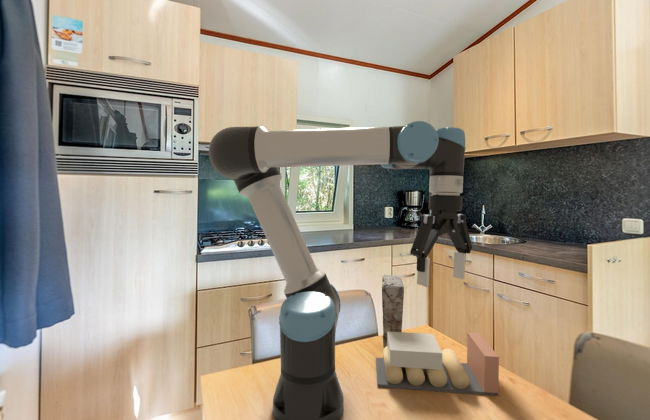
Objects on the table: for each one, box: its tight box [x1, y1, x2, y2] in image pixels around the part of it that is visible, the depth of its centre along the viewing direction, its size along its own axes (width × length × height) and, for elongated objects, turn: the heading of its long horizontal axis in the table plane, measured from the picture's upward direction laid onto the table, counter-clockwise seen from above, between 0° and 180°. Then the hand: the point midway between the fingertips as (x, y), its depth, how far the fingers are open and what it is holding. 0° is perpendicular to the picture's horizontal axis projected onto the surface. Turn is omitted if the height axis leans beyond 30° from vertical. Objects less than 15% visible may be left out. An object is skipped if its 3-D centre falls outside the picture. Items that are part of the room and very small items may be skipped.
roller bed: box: [375, 346, 499, 396], centre depth 77 cm, size 27×12×5 cm, turn 82°
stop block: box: [466, 332, 500, 396], centre depth 75 cm, size 3×12×9 cm, turn 172°
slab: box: [387, 331, 442, 370], centre depth 77 cm, size 12×10×4 cm
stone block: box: [381, 274, 405, 349], centre depth 93 cm, size 13×7×20 cm, turn 176°
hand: (441, 281), depth 75 cm, fingers open, 13 cm apart
